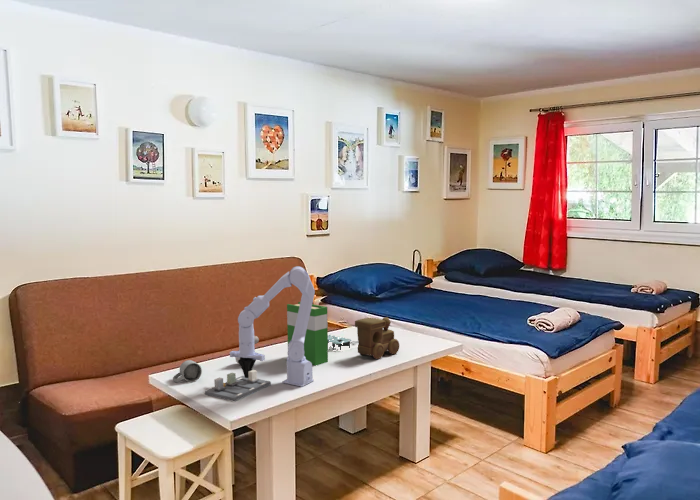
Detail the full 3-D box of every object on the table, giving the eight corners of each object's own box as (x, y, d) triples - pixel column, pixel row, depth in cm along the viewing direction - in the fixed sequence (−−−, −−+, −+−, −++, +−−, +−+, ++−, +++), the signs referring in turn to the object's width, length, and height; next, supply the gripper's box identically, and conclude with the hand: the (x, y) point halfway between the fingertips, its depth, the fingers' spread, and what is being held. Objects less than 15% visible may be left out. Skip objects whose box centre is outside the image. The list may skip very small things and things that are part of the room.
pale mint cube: (238, 383, 207) (237, 373, 207) (232, 385, 204) (231, 375, 204) (230, 381, 209) (230, 372, 208) (224, 384, 206) (224, 374, 206)
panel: (270, 384, 210) (270, 378, 210) (234, 401, 193) (234, 395, 193) (242, 378, 217) (242, 373, 217) (205, 394, 200) (204, 388, 200)
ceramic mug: (196, 374, 222) (195, 356, 222) (202, 380, 216) (201, 361, 215) (170, 379, 217) (169, 361, 216) (175, 385, 210) (174, 366, 210)
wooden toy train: (372, 362, 238) (371, 324, 236) (353, 356, 246) (352, 320, 244) (402, 352, 252) (402, 316, 250) (383, 348, 260) (383, 313, 258)
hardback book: (287, 357, 245) (287, 304, 243) (300, 354, 251) (299, 301, 248) (315, 365, 233) (314, 309, 231) (327, 362, 238) (327, 307, 236)
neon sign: (380, 333, 273) (337, 344, 252) (380, 341, 274) (337, 353, 253) (350, 326, 288) (307, 336, 267) (350, 334, 288) (307, 345, 268)
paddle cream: (259, 380, 210) (258, 370, 210) (253, 382, 207) (253, 373, 207) (251, 378, 212) (251, 369, 212) (246, 381, 209) (246, 371, 209)
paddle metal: (225, 388, 201) (225, 378, 201) (219, 391, 199) (219, 380, 198) (218, 386, 203) (218, 376, 203) (212, 389, 200) (211, 379, 200)
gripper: (268, 341, 210) (269, 376, 212) (237, 337, 216) (238, 371, 217) (258, 345, 204) (259, 381, 205) (226, 342, 210) (227, 377, 211)
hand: (247, 377), depth 211 cm, fingers closed
